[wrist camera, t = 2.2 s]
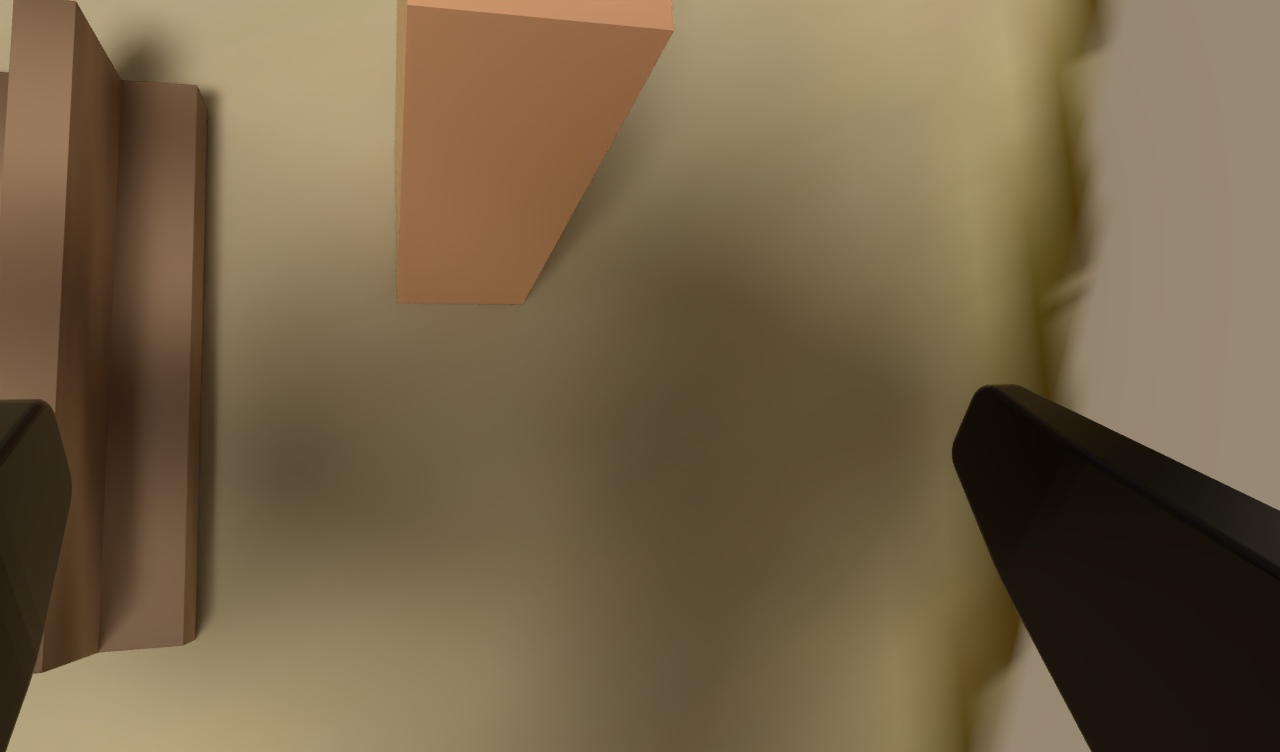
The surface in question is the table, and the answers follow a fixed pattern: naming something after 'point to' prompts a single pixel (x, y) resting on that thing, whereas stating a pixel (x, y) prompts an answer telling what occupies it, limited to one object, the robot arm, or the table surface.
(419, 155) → the clay slab
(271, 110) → the table surface
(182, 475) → the slotted wooden tray
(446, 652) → the table surface
